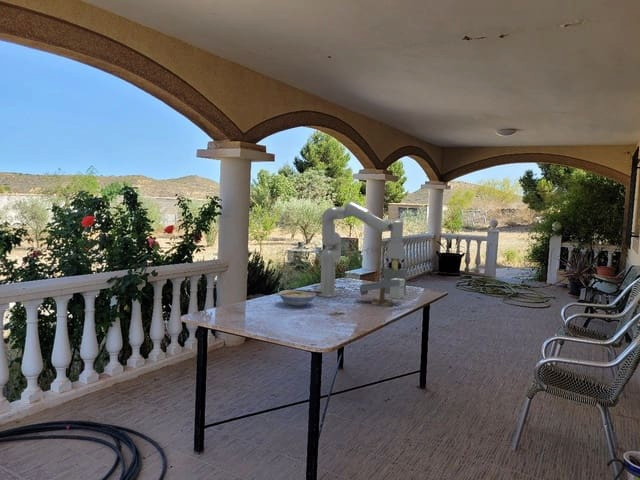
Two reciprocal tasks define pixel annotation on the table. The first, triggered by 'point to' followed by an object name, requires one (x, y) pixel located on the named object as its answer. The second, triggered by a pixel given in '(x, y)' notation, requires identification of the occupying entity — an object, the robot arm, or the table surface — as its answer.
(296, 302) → the ramen bowl
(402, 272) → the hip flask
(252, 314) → the table surface
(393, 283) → the balance beam
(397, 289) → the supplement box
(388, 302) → the pivot stand
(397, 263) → the brass weight
